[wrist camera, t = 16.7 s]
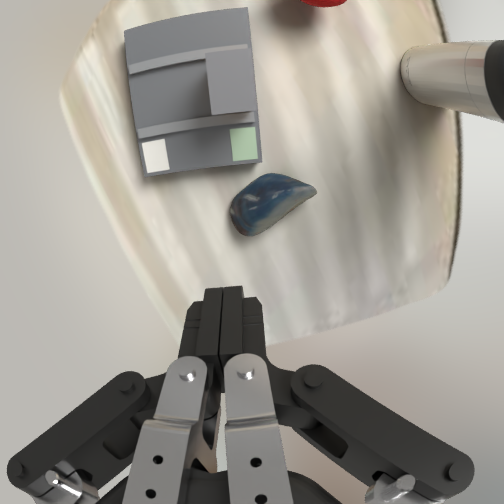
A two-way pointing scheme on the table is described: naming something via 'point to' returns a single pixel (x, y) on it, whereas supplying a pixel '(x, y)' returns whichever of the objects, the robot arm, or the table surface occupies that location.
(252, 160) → the panel
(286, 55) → the table surface
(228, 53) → the breaker toggle
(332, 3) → the strawberry
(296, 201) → the seashell
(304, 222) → the table surface
